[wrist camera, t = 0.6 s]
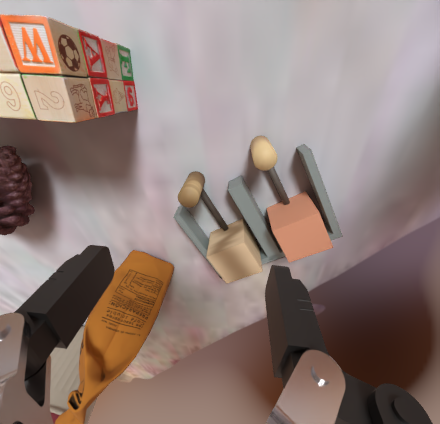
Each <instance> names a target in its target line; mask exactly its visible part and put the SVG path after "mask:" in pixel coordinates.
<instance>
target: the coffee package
mask: <svg viewBox="0 0 440 424" xmlns="http://www.w3.org/2000/svg"><path fill="white" fill-rule="evenodd" d="M173 270H174V266H173V265H172V264H171V263H168V262H165V261H163V260H160V259H157V258H154V257H152V256H150V255H148V254H147V253H144V252H139V251H135V250H133V251H132V252H131V253H130V254H129V255H128V257H127V258H126V259H125V261H124V262H123V263H122V264H121V266H120V267H119V268H118V269H117V270H116V271H115V272H114V276H113V279H112V281H111V283H110V284H109V286H108V287H107V289H106V290H105V292H104V293H103V295H102V296H101V298H100V299H99V301H98V302H97V304H96V305H95V307H94V308H93V310H92V311H91V313H90V314H89V317H88V319H87V322H86V325H85V328H84V332H83V339H82V342H81V348H80V357H79V378H80V384H79V388H78V390H74V391H72V392H71V393H70V394H69V396H68V401H67V405H68V407H69V409H68V410H67V411H65V412H64V413H62V414H61V415H60V416H59V417H58V418H57V419H56V421H55V424H84V421H85V416H86V410H87V408H88V407H89V406H90V405H91V404H92V403H93V401H94V400H95V399H96V398H97V397H98V396H99V394H100V393H101V392H102V391H103V390H104V389H105V388H106V387H107V386H108V384H109V383H110V382H112V381H113V380H114V379H116V378H117V377H118V376H119V375H120V374H121V373H123V371H124V370H125V369H126V368H127V367H128V366H129V364H130V363H131V362H132V361H133V360H134V358H135V357H136V355H137V354H138V352H139V350H140V349H141V347H142V345H143V343H144V341H145V340H146V338H147V336H148V335H149V333H150V331H151V329H152V327H153V324H154V322H155V320H156V318H157V316H158V313H159V310H160V307H161V305H162V302H163V299H164V297H165V294H166V291H167V289H168V286H169V283H170V280H171V277H172V274H173Z"/></svg>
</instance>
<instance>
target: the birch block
mask: <svg viewBox="0 0 440 424" xmlns="http://www.w3.org/2000/svg"><path fill="white" fill-rule="evenodd" d="M204 183H205V178H204V176H203V174H201V173H200V172H192V173H190V174H189V176H188V178H187V179H186V181H185V183H184V185H183V187H182V189H181V190H180V192H179V194H178V200H179V202H180V204H181V205H183V206H184V207H188V208H190V207H194V206H195V205H197V203H198V200H199V197H200V196H201V198H202V199H203V201H204V202H205V203H206V205H207V206H208V208H209V209H210V211H211V212H212V214H213V215H214V217H215V218H216V220H217V221H218V223H219V224H220V226H221V227H222V228H220V229H217V230H215V231H213V232H211V234H210V239H209V245H208V250H207V256H206V258H207V259H208V260H209V261H210V263H211V264H212V265H213V267H214V268H215V269H216V271H217V272H218V273H219V274H220V276H221V277H222V278H223V280H224V281H225V282H226V283H230V282H233V281H236V280H239V279H242V278H245V277H248V276H251V275H253V274H256V273H259V272H262V271H263V270H262V263H261V256H260V248H259V244H258V242H257V241H256V239H255V237H254V236H253V234H252V232H251V231H250V229H249V227H248V226H247V224H246V222H245V221H244V219H240V220H238V221H236V222H234V223H231V224H229V225H227V224H226V223H225V221H224V220H223V218H222V217H221V215H220V214H219V212H218V211H217V209H216V208H215V206H214V205H213V203H212V202H211V200H210V198H209V197H208V195H207V194H206V192H205V191H204V189H203V186H204Z"/></svg>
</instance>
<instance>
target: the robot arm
mask: <svg viewBox="0 0 440 424" xmlns="http://www.w3.org/2000/svg"><path fill="white" fill-rule="evenodd" d="M113 276H114V266H113V262H112V258H111V255H110V251H109V248H108V247H105V246H96V245H90V246H88V247H87V248H86V249H85V250H84V251H83V252H82V253H81V254H80V255H78V254H77V255H75V256H74V257H72V258H71V259H69V260H67V261H66V262H65V263H64V264H63V265H62V266H61V267H60V268H59V269H58V270H57V271H56V272H55V273H54V274H53V275H52V276H51V277H50V278H49V280H47V281H46V282H45V283H44V284H43V285H42V286H41V287H40V288H39V289H38V290H37V291H36V292H35V293H34V294H33V295H32V296H31V297H30V298H29V299H28V300H27V301H26V302H25V303H24V304H23V305H22V306H21V307H20V308H19V309H18V310H16V311H15V312H14V313H7V314H4V315H1V316H0V424H53V419H52V416H51V413H50V383H51V356H50V354H51V353H52V351H53V350H54V348H55V347H56V348H64V349H67V348H68V346H69V345H70V343H71V342H72V340H73V339H74V337H75V336H76V334H77V332H78V331H79V329H80V328H81V326H82V325H83V323H84V322H85V320H86V319H87V317H88V316H89V314H90V313H91V311H92V310H93V308H94V307H95V305H96V304H97V302H98V301H99V299H100V298H101V296H102V295H103V293H104V292H105V290H106V289H107V287H108V286H109V284H110V283H111V281H112V279H113ZM265 301H266V310H267V318H268V327H269V336H270V345H271V354H272V363H273V372H274V377H278V378H282V381H283V387H284V390H283V392H282V394H281V396H280V398H279V399H278V401H277V403H276V405H275V408H274V409H273V411H272V413H271V415H270V416H269V418H268V420H267V422H266V424H432V422H431V420H430V418H429V416H428V415H427V413H426V411H425V410H424V409H423V407H422V406H421V405H420V404H419V402H418V401H417V400H416V399H415V398H414V397H412V396H411V395H410V394H409V393H408V392H406V391H405V390H403V389H402V388H400V387H398V386H396V385H393V384H382V385H380V386H379V387H378V388H375V387H373V386H371V385H369V384H367V383H365V382H363V381H360V380H358V379H356V378H354V377H352V376H350V375H348V374H347V373H345V372H344V371H342V370H341V369H340V367H339V366H338V364H337V363H336V362H335V361H334V360H333V359H332V358H331V357H330V356H329V354H328V352H327V349H326V347H325V344H324V341H323V337H322V334H321V331H320V328H319V325H318V322H317V319H316V316H315V313H314V311H313V310H314V309H313V306H312V303H311V302H310V297H309V294H308V291H307V289H306V287H305V286H304V285H303V284H302V282H301V281H300V280H298V279H292V277H291V273H290V269H289V267H285V266H275V265H272V266H271V269H270V273H269V277H268V281H267V285H266V290H265Z"/></svg>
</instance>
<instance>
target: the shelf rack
mask: <svg viewBox="0 0 440 424" xmlns="http://www.w3.org/2000/svg"><path fill="white" fill-rule="evenodd" d="M297 150H298V153H299V155H300V158H301V160H302V163H303V165H304V168H305V170H306V173H307V176H308V178H309V181H310V183H311V186H312V188H313V191H314V193H315V196H316V198H317V201H318V204H319V206H320V209H321V211H322V214H323V216H324V219H325V221H326V223H324V225H325V228H326V230H327V233H328V235H329V238H330V240H334V239H337V238H340V237H343V236H342V233H341V231H340V228H339V225H338V222H337V220H336V217H335V214H334V211H333V209H332V206H331V203H330V200H329V198H328V195H327V192H326V189H325V186H324V184H323V181H322V178H321V175H320V173H319V170H318V167H317V164H316V162H315V159H314V156H313V153H312V151H311V149H310V148H308V147H307V146H306V145H305V144H303V145H301V146H299V147H297ZM228 191H229V193H230V195H231V196H232V198H233V200H234V201H235V203H236V205H237V206H238V208H239V210H240V211H241V213H242V215H243V216H244V218H245V220H246V221H247V223H248V225H249V226H250V228H251V230H252V231H253V233H254V235H255V237H256V238H257V240H258V242H259V243H260V245H261V247H259V248H260V256H261V263H262V264H265V263H268V262H271V261H274V260H277V259H279V258H282V257H285V254H284V252H283V250H282V248H281V246H280V245H279V243H278V241H277V240H276V238H275V236H274V235H273V233H272V231H271V229H270V227H269V225H268V224H267V222H266V220H265V218H264V216H263V214H262V213H261V211H260V209H259V207H258V205H257V203H256V202H255V200H254V198H253V196H252V194H251V192H250V191H249V189H248V187H247V185H246V183H245V181H244V180H243V178H242V176H239V177H237V178H235V179H233V180H231V181H229V186H228ZM174 218H175V220H176V221H177V222H178V224H179V225H180V226H181V227H182V229H183V230H184V231H185V233H186V234H187V235H188V236H189V238H190V239H191V240H192V242H193V243H194V244H195V245H196V247H197V248H198V249H199V251H200V252H201V253H202V254H203V256H204V257H205V258H206V256H207V250H208V245H209V239H208V237H207V236H206V234H205V233H204V232H203V230H202V229H201V228H200V226H199V225H198V223H197V222H196V221H195V219H194V218H193V217H192V215H191V214H190V212H189V211H188V210H187V208H186V207H184V206H183V205H182V206H180V207H178V209H177V211H176V213H175V215H174ZM206 260H207V261H208V262H209V263H210V261H209V260H208V259H207V258H206ZM210 265H211V266H212V267H213V265H212V264H211V263H210ZM213 269H214V270H215V271H216V269H215V268H214V267H213ZM216 272H217V271H216ZM217 274H218V275H219V276H220V274H219V273H218V272H217ZM220 278H221V279H222V277H221V276H220Z"/></svg>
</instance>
